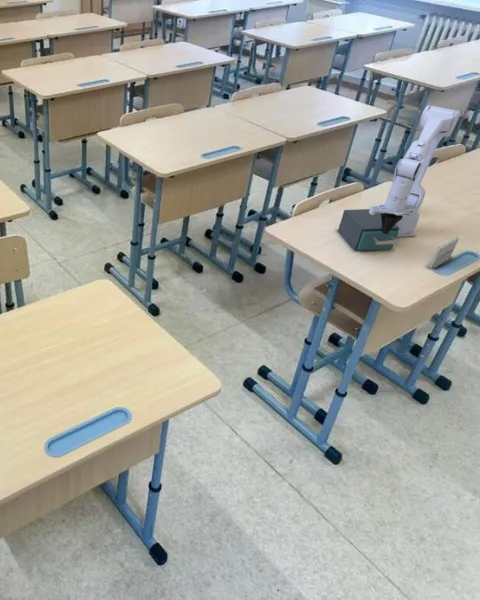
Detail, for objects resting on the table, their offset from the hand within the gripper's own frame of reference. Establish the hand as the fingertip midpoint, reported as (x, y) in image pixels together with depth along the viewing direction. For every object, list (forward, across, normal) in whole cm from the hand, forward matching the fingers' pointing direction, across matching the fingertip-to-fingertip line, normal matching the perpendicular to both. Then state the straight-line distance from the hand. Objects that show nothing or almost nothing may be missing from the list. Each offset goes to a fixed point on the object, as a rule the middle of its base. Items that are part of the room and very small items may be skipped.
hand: (384, 232), depth 184 cm
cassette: (+9, +18, -7) cm, 22 cm away
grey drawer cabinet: (+9, 0, +9) cm, 13 cm away
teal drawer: (+8, 0, +5) cm, 9 cm away
